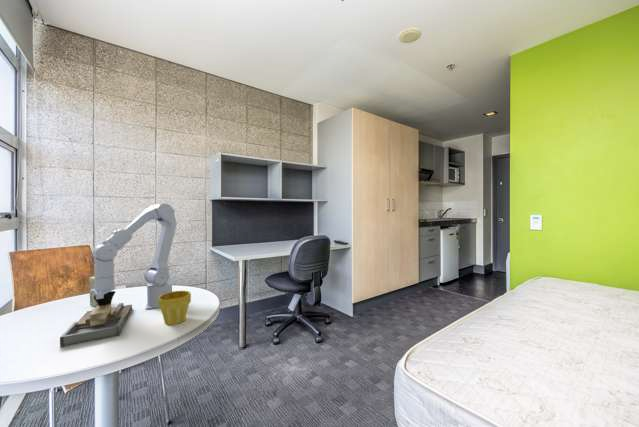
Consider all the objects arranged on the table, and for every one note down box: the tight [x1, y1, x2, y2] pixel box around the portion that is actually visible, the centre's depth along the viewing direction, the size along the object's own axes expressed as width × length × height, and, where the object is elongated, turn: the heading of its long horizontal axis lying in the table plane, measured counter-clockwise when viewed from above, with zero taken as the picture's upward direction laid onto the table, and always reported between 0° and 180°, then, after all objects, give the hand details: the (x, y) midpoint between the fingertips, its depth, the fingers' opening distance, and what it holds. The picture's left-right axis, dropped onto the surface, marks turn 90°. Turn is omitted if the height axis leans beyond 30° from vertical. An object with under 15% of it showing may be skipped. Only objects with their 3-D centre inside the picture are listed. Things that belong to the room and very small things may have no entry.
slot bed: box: [77, 302, 133, 327], centre depth 96 cm, size 14×14×3 cm
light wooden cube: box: [93, 303, 112, 319], centre depth 92 cm, size 4×4×4 cm
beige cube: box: [90, 308, 108, 326], centre depth 89 cm, size 4×4×4 cm
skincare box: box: [88, 276, 99, 308], centre depth 112 cm, size 6×4×12 cm
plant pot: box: [158, 290, 192, 326], centre depth 93 cm, size 10×10×10 cm
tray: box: [59, 314, 127, 348], centre depth 85 cm, size 14×12×3 cm
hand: (105, 312), depth 95 cm, fingers closed
